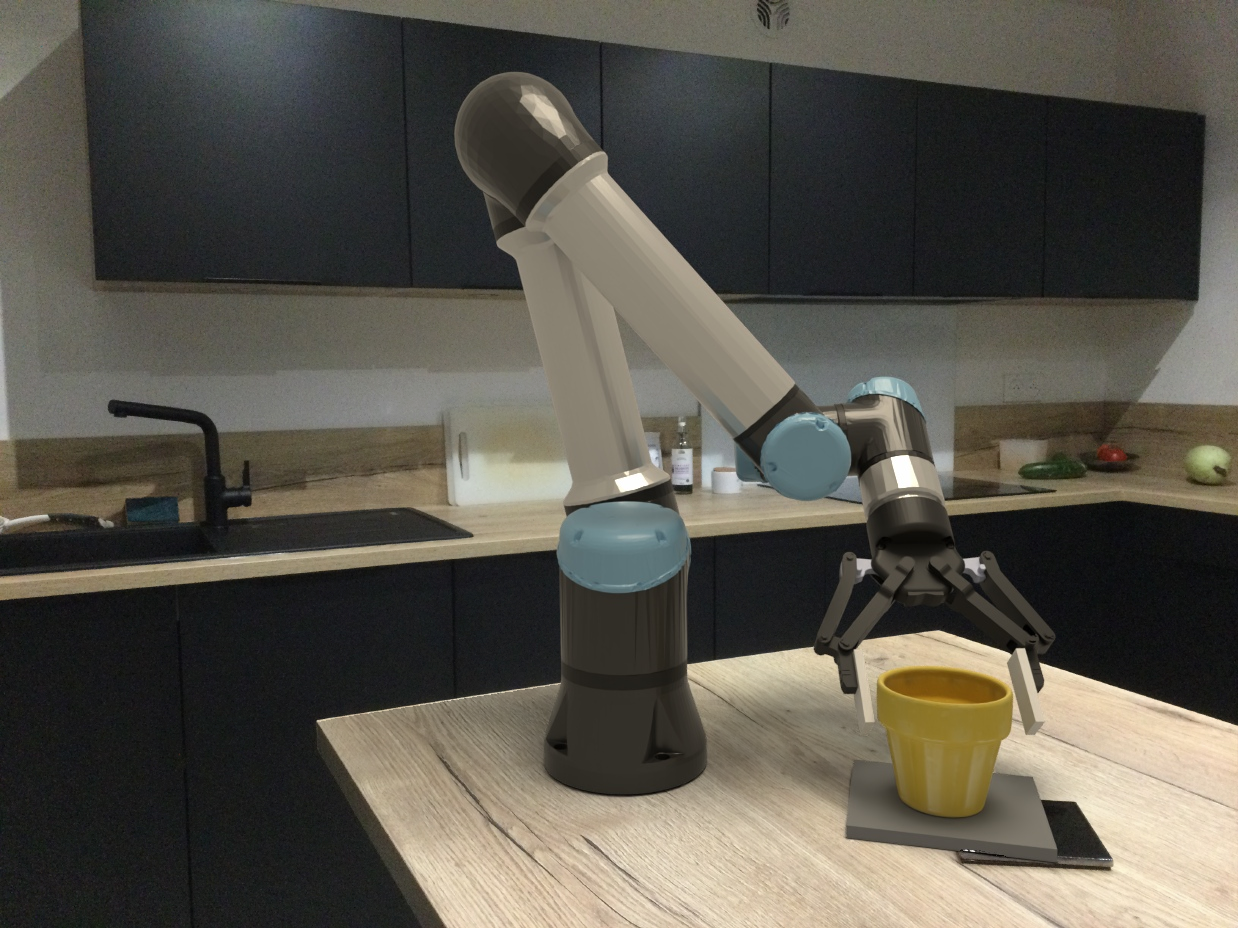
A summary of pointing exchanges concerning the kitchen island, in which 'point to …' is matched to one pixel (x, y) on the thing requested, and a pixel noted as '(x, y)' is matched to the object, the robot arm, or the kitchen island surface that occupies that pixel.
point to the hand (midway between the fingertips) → (951, 729)
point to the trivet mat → (999, 827)
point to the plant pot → (943, 735)
